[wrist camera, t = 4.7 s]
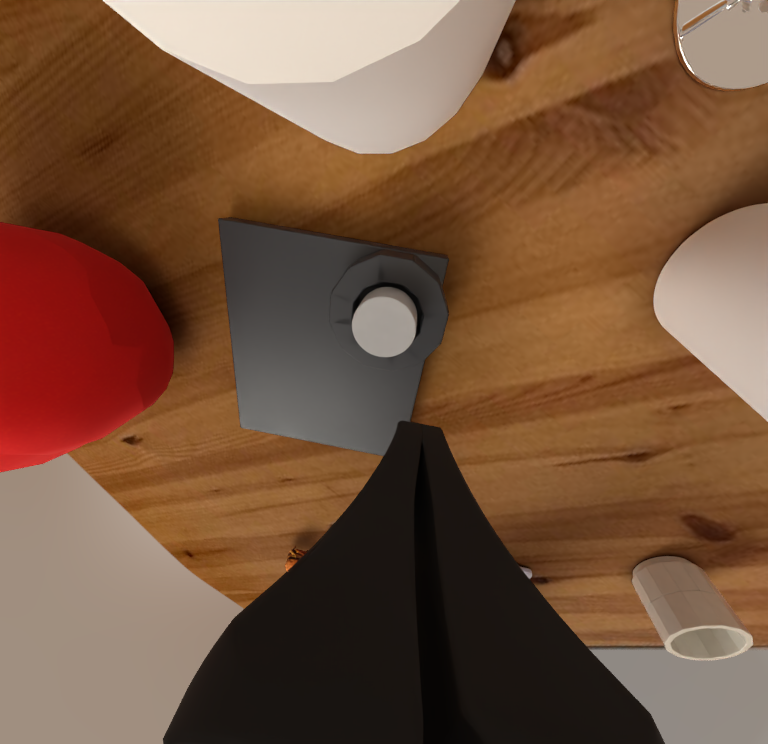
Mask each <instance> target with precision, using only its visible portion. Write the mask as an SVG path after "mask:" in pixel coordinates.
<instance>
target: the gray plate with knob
mask: <svg viewBox="0 0 768 744" xmlns="http://www.w3.org/2000/svg"><path fill="white" fill-rule="evenodd" d="M218 222H219V231H220V240H221V250H222V259H223V268H224V278H225V287H226V296H227V306H228V315H229V324H230V334H231V343H232V352H233V362H234V371H235V380H236V389H237V399H238V408H239V417H240V427H241V428H245V429H250V430H255V431H260V432H265V433H270V434H275V435H280V436H285V437H290V438H295V439H300V440H306V441H311V442H316V443H321V444H326V445H331V446H336V447H341V448H346V449H351V450H356V451H361V452H366V453H371V454H376V455H381V456H384V455H385V453H386V451H387V450H388V448H389V446H390V444H391V442H392V439H393V437H394V435H395V432H396V429H397V424H398V422H400V421H402V420H403V421H408V422H410V420H411V416H412V412H413V408H414V403H415V399H416V395H417V391H418V387H419V383H420V378H421V374H422V370H423V366H424V362H425V359H426V358H427V357H428V356H429V355H430V354H431V353H432V352H433V351H434V350H435V349H436V348H437V347H438V346H439V345H440V344H441V342H442V339H443V335H444V331H445V327H446V324H447V320H448V316H449V314H448V313H449V311H448V306H447V301H446V298H445V294H444V291H443V288H442V286H443V282H444V278H445V274H446V270H447V265H448V261H449V259H448V256H447V255H444V254H438V253H432V252H426V251H421V250H415V249H409V248H403V247H398V246H392V245H386V244H381V243H375V242H369V241H363V240H358V239H352V238H346V237H341V236H335V235H329V234H323V233H318V232H312V231H306V230H301V229H295V228H289V227H283V226H278V225H272V224H266V223H261V222H255V221H249V220H243V219H238V218H232V217H229V218H219V219H218ZM380 287H394V288H397V289H400V290H402V291H403V292H405V293H406V294H407V295H408V296H409V297H410V298H411V299H412V301H413V302H414V304H415V306H416V310H417V326H416V334H415V338H414V340H413V342H412V344H411V345H410V346H409V347H408V348H407V349H406V350H405V351H404V352H402V353H400V354H398V355H396V356H392V357H379V356H375V355H372V354H370V353H368V352H367V351H365V350H364V349H363V348H362V347H361V346H360V345H359V344H358V343H357V341H356V339H355V337H354V335H353V331H352V319H353V316H354V313H355V311H356V310H357V308H358V306H359V305H360V303H361V302H362V300H363V299H364V297H365V296H366V295H367V294H368V293H369V292H371V291H372V290H374V289H377V288H380Z"/></svg>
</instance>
